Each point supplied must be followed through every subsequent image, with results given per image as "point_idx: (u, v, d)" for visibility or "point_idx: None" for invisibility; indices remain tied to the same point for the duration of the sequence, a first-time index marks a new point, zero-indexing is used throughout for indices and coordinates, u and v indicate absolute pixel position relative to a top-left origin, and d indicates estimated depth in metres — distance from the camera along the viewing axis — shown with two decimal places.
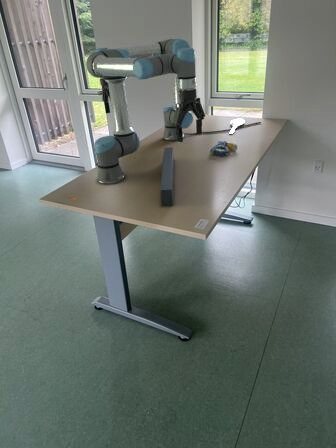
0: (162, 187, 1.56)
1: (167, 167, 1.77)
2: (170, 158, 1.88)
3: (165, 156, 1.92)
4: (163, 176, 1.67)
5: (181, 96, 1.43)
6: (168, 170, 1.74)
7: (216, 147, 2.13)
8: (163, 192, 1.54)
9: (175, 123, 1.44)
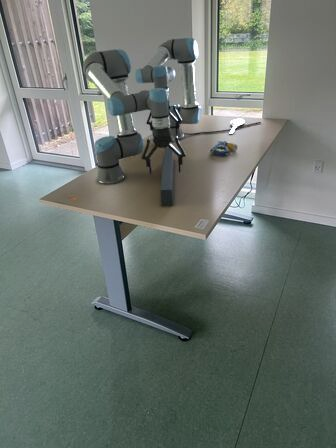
0: (162, 187, 1.56)
1: (167, 167, 1.77)
2: (170, 158, 1.88)
3: (165, 156, 1.92)
4: (163, 176, 1.67)
5: None
6: (168, 170, 1.74)
7: (216, 147, 2.13)
8: (163, 192, 1.54)
9: (142, 155, 1.52)
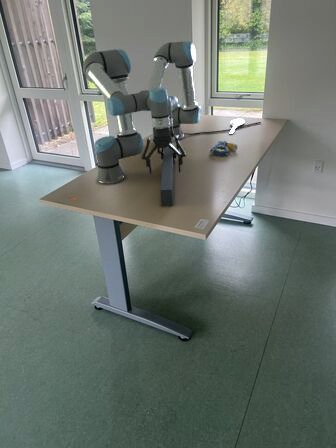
0: (162, 187, 1.56)
1: (167, 167, 1.77)
2: (170, 158, 1.88)
3: (165, 156, 1.92)
4: (163, 176, 1.67)
5: None
6: (168, 170, 1.74)
7: (216, 147, 2.13)
8: (163, 192, 1.54)
9: (142, 155, 1.52)
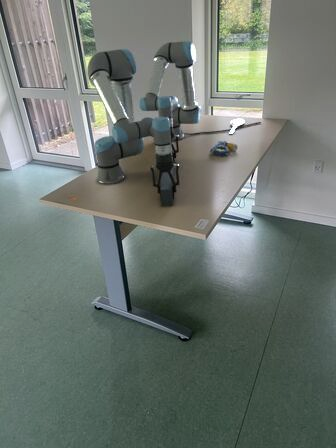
0: (162, 187, 1.56)
1: None
2: None
3: None
4: (163, 176, 1.67)
5: None
6: None
7: (216, 147, 2.13)
8: (163, 192, 1.54)
9: (153, 183, 1.59)
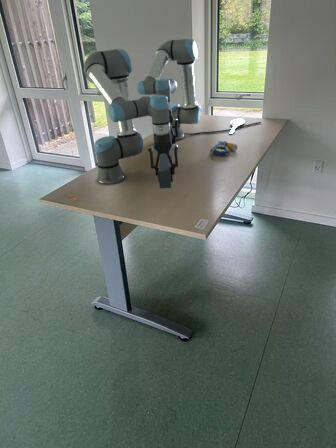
0: (160, 169, 1.52)
1: None
2: None
3: None
4: (161, 159, 1.63)
5: None
6: None
7: (216, 147, 2.13)
8: (160, 174, 1.50)
9: None
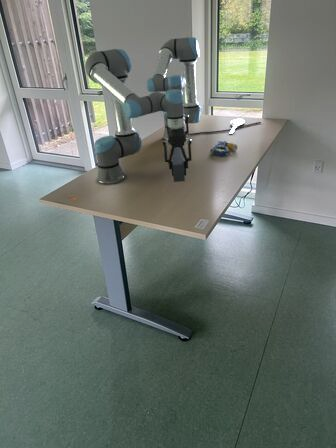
0: (174, 162, 1.55)
1: None
2: None
3: None
4: (174, 153, 1.66)
5: None
6: (179, 148, 1.72)
7: (216, 147, 2.13)
8: (175, 167, 1.53)
9: None
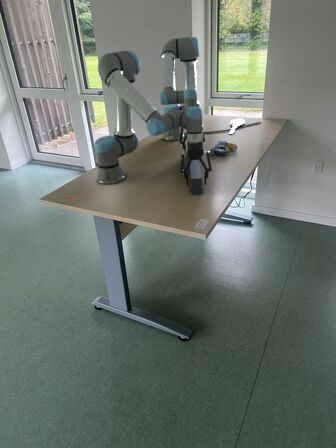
0: (192, 176, 1.64)
1: None
2: None
3: None
4: (191, 166, 1.75)
5: (187, 146, 1.61)
6: (195, 161, 1.82)
7: (216, 147, 2.13)
8: (193, 181, 1.63)
9: (180, 169, 1.66)
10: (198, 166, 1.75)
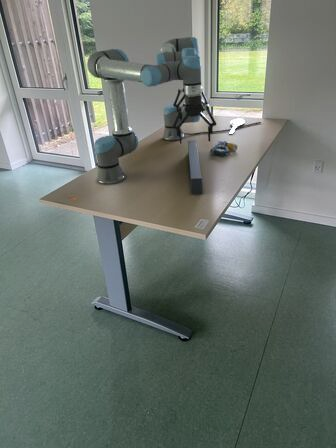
0: (192, 176, 1.64)
1: (193, 158, 1.85)
2: (195, 150, 1.96)
3: (190, 148, 2.00)
4: (191, 166, 1.75)
5: (185, 101, 1.50)
6: (195, 161, 1.82)
7: (216, 147, 2.13)
8: (193, 181, 1.63)
9: (173, 124, 1.54)
10: (198, 166, 1.75)
